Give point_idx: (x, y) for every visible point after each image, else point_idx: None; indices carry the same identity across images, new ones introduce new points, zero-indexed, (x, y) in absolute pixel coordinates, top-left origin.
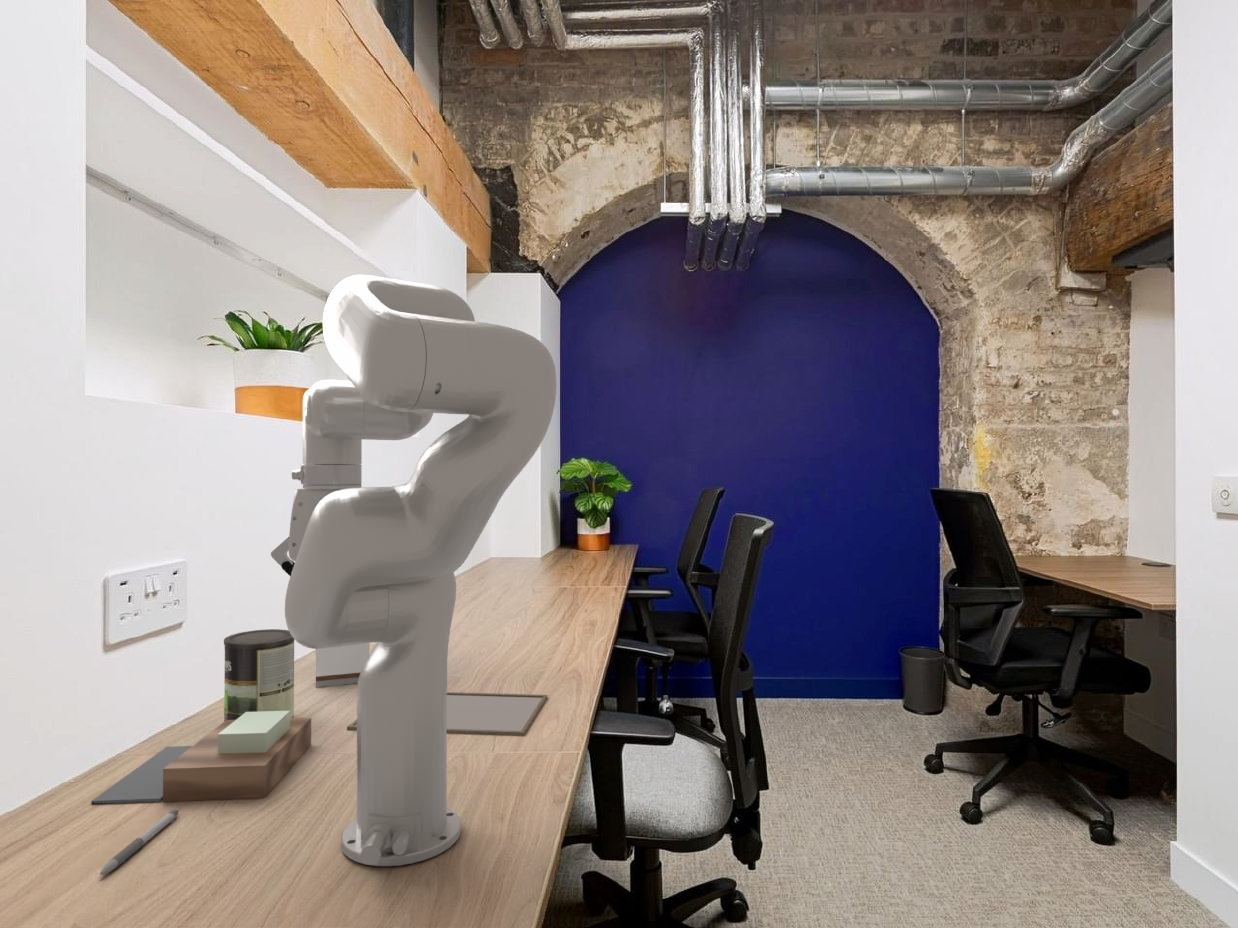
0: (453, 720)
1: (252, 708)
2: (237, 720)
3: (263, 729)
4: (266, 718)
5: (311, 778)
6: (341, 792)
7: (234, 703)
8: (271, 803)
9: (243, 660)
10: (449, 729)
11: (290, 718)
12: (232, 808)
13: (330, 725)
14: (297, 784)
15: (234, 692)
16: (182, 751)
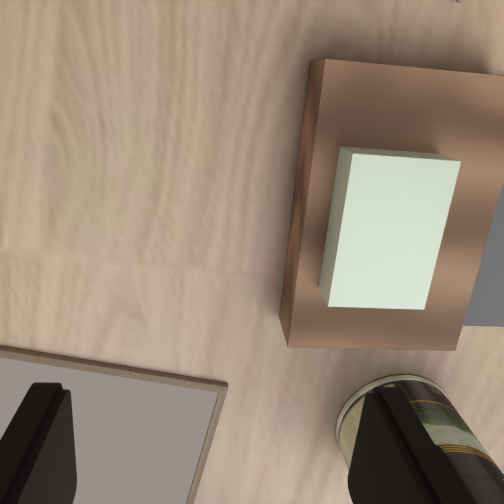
0: (16, 405)
1: (416, 408)
2: (432, 253)
3: (363, 180)
4: (371, 258)
5: (240, 147)
6: (161, 61)
7: (455, 420)
8: (290, 28)
9: (490, 493)
10: (8, 354)
11: (330, 346)
12: (360, 17)
13: (264, 407)
14: (261, 120)
15: (468, 437)
16: (500, 301)
